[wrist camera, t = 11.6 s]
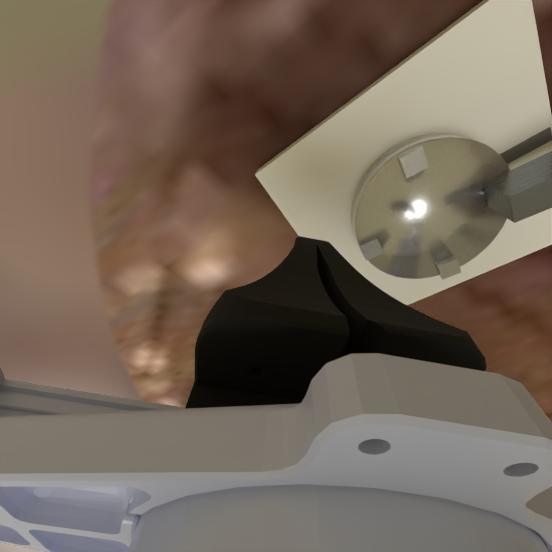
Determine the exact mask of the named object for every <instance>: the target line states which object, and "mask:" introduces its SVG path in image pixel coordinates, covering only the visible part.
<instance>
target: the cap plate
mask: <svg viewBox="0 0 552 552" xmlns="http://www.w3.org/2000/svg"><path fill="white" fill-rule="evenodd" d="M437 133H440V134H451V135H456V136H460V137H464V138H468V139H471V140H475V141H478V142H480V143H483V144H486V145H487V146H489V147H491V148H492V149H494V150H495V151H496V152H497V153H498V154H500V155H501V156H502V158H503V159H504V160H505V162H506V163H507V165H508V167H509V169H510V170H512V169H514V168H517V167H519V166H521V165H523V164H525V163H527V162H529V161H531V160H534V159H536V158H538V157H540V156H542V155H544V154H546V153H548V152H551V151H552V115H551V109H550V103H549V97H548V91H547V86H546V80H545V74H544V68H543V63H542V57H541V51H540V45H539V39H538V34H537V28H536V22H535V16H534V11H533V5H532V0H483V1H482V2H480V3H479V4H478V5H476V6H475V7H474V8H472V9H471V10H470V11H468V12H467V13H466V14H464V15H463V16H462V17H460V18H459V19H458V20H456V21H455V22H454V23H452V24H451V25H450V26H448V27H447V28H446V29H444V30H443V31H442V32H440V33H439V34H438V35H436V36H435V37H434V38H432V39H431V40H430V41H428V42H427V43H426V44H424V45H423V46H422V47H420V48H419V49H418V50H416V51H415V52H414V53H412V54H411V55H410V56H408V57H407V58H406V59H404V60H403V61H402V62H400V63H399V64H398V65H396V66H395V67H394V68H392V69H391V70H390V71H388V72H387V73H386V74H384V75H383V76H382V77H380V78H379V79H378V80H376V81H375V82H374V83H372V84H371V85H370V86H368V87H367V88H366V89H364V90H363V91H362V92H360V93H359V94H358V95H356V96H355V97H354V98H352V99H351V100H350V101H348V102H347V103H346V104H344V105H343V106H342V107H340V108H339V109H338V110H336V111H335V112H334V113H332V114H331V115H330V116H328V117H327V118H326V119H324V120H323V121H322V122H320V123H319V124H318V125H316V126H315V127H314V128H312V129H311V130H310V131H308V132H307V133H306V134H304V135H303V136H302V137H300V138H299V139H298V140H296V141H295V142H294V143H292V144H291V145H290V146H288V147H287V148H286V149H284V150H283V151H282V152H280V153H279V154H278V155H276V156H275V157H274V158H272V159H271V160H270V161H268V162H267V163H266V164H264V165H263V166H262V167H260V168H259V169H258V170H257V172H256V174H255V176H256V177H257V178H258V180H259V181H260V183H261V184H262V185H263V187H264V188H265V190H266V191H267V192H268V194H269V195H270V197H271V198H272V199H273V201H274V202H275V204H276V205H277V206H278V208H279V209H280V211H281V212H282V213H283V215H284V216H285V218H286V219H287V220H288V222H289V223H290V225H291V226H292V227H293V229H294V230H295V232H296V233H297V234H298V236H301V237H306V238H312V239H317V240H323V241H328V242H329V243H330V244H332V245H333V247H334V248H335V249H336V250H337V251H338V252H339V253H340V254H341V255H342V256H343V257H344V258H345V259H346V260H347V261H348V262H349V263H350V264H351V265H352V266H353V267H354V268H355V269H356V270H357V271H358V272H359V273H360V274H362V275H363V276H364V277H365V278H366V279H367V280H369V281H370V282H371V283H373V284H374V285H375V286H377V287H378V288H379V289H381V290H382V291H384V292H385V293H387V294H388V295H390V296H392V297H393V298H395V299H397V300H398V301H400V302H402V303H403V304H405V305H409V304H411V303H414V302H416V301H418V300H421V299H423V298H426V297H428V296H430V295H433V294H435V293H437V292H440V291H442V290H445V289H447V288H449V287H452V286H454V285H456V284H459V283H461V282H464V281H466V280H468V279H471V278H473V277H475V276H478V275H480V274H483V273H485V272H487V271H490V270H492V269H494V268H497V267H499V266H502V265H504V264H506V263H509V262H511V261H513V260H516V259H518V258H521V257H523V256H525V255H528V254H530V253H532V252H535V251H537V250H540V249H542V248H544V247H547V246H549V245H552V208H550V209H547V210H545V211H543V212H540V213H538V214H535V215H533V216H530V217H528V218H526V219H523V220H521V221H518V222H516V223H514V222H512V221H511V220H509V219H507V220H506V222H505V224H504V226H503V228H502V229H501V231H500V232H499V234H498V235H497V236H496V238H495V239H494V240H493V241H492V242H491V244H490V245H489V246H488V247H487V248H486V249H484V250H483V251H482V252H481V253H480V254H479V255H477V256H476V257H475V258H474V259H472V260H471V261H469V262H468V263H466V264H464V265H462V266H461V267H460V270H461V273H459V274H456V275H454V276H451V277H448V278H446V279H443V280H442V278H441V277H440V276H439V275H438V276H434V277H429V278H422V279H407V278H400V277H395V276H392V275H389V274H387V273H384V272H382V271H381V270H379V269H377V268H376V267H375V266H373V265H372V264H371V263H370V262H369V261H368V260H367V261H366V260H365V258H364V256H363V254H362V252H361V250H360V248H359V245H358V241H357V239H356V236H355V234H354V231H353V227H352V222H351V207H352V202H353V198H354V195H355V192H356V190H357V187H358V185H359V183H360V181H361V180H362V178H363V177H364V175H365V173H366V172H367V171H368V170H369V168H370V167H371V166H372V165H373V164H374V163H375V162H376V161H377V160H378V159H379V158H380V157H381V156H382V155H384V154H385V153H386V152H387V151H389V150H390V149H392V148H394V147H395V146H397V145H399V144H401V143H403V142H405V141H407V140H409V139H412V138H415V137H418V136H423V135H427V134H437Z"/></svg>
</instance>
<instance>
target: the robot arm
mask: <svg viewBox="0 0 552 552" xmlns="http://www.w3.org/2000/svg"><path fill="white" fill-rule="evenodd" d="M0 543H5V544H9V545H14V546H20V547H24V548H29V549H34V550H38V551H43V552H552V422H551V421H550V420H549V418H548V417H547V416H546V415H545V413H544V412H543V411H542V409H541V408H540V407H539V405H538V404H537V403H536V402H535V400H534V399H533V398H532V396H531V395H530V394H529V392H528V391H527V390H526V388H525V387H524V386H523V385H522V383H520V382H518V381H515V380H513V379H511V378H508V377H506V376H503V375H501V374H497V373H492V372H486V362H485V357H484V356H483V355H482V353H481V352H480V350H479V349H478V347H477V346H476V344H475V343H474V341H473V340H472V338H471V337H470V336H469V334H468V333H467V332H466V331H463V330H461V329H458V328H456V327H453V326H451V325H448V324H446V323H443V322H441V321H438V320H436V319H433V318H431V317H429V316H427V315H425V314H423V313H421V312H419V311H417V310H415V309H413V308H411V307H409V306H407V305H405V304H403V303H402V302H400V301H398V300H397V299H395V298H393V297H392V296H390V295H388V294H387V293H385V292H384V291H382V290H381V289H379V288H378V287H377V286H375V285H374V284H373V283H371V282H370V281H369V280H367V279H366V278H365V277H364V276H363V275H362V274H360V273H359V272H358V271H357V270H356V269H355V268H354V267H353V266H352V265H351V264H350V263H349V262H348V261H347V260H346V259H345V258H344V257H343V256H342V255H341V254H340V253H339V252H338V251H337V250H336V249H335V248H334V247H333V245H332V244H330V243H329V242H328V241H323V240H317V239H312V238H306V237H301V236H299V237H297V238H296V241H295V245H294V247H293V249H292V250H291V252H290V253H289V255H288V256H287V257H286V258H285V259H284V260H283V262H282V263H281V264H280V265H279V266H278V267H276V268H275V269H274V270H273V271H272V272H270V273H269V274H267V275H266V276H264V277H263V278H261V279H259V280H257V281H255V282H253V283H250V284H248V285H245V286H241V287H237V288H234V289H230V290H226V291H225V292H224V293H223V294H222V295H221V297H220V298H219V299H218V301H217V302H216V303H215V305H214V306H213V308H212V309H211V311H210V313H209V314H208V316H207V318H206V319H205V321H204V323H203V326H202V328H201V331H200V333H199V335H198V338H197V342H196V347H195V382H194V385H193V388H192V391H191V394H190V396H189V399H188V402H187V405H186V408H183V407H177V406H170V405H164V404H158V403H151V402H145V401H139V400H132V399H126V398H120V397H113V396H107V395H101V394H94V393H88V392H82V391H75V390H69V389H63V388H56V387H50V386H43V385H37V384H30V383H25V382H18V381H12V380H6V379H5V378H4V374H3V372H2V370H1V368H0Z"/></svg>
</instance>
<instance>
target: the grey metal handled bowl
mask: <svg viewBox="0 0 552 552" xmlns="http://www.w3.org/2000/svg"><path fill="white" fill-rule="evenodd" d="M550 208H552V151H551V152H548V153H546V154H544V155H542V156H540V157H538V158H536V159H534V160H531V161H529V162H527V163H525V164H523V165H521V166H519V167H517V168H514V169H512V170H510V169H509V167H508V165H507V163H506V162H505V160H504V159H503V158H502V156H501V155H500V154H498V153H497V152H496V151H495V150H494V149H492V148H491V147H489V146H487V145H486V144H483V143H480V142H478V141H475V140H471V139H468V138H464V137H460V136H456V135H451V134H440V133H437V134H427V135H423V136H418V137H415V138H412V139H409V140H407V141H405V142H403V143H401V144H399V145H397V146H395V147H394V148H392V149H390V150H389V151H387V152H386V153H385V154H384V155H382V156H381V157H380V158H379V159H378V160H377V161H376V162H375V163H374V164H373V165H372V166H371V167H370V168H369V170H368V171H367V172H366V173H365V175H364V177H363V178H362V180H361V181H360V183H359V185H358V187H357V190H356V192H355V195H354V198H353V202H352V207H351V222H352V227H353V231H354V234H355V236H356V239H357V241H358V245H359V248H360V250H361V252H362V254H363V256H364V258H365V260H366V261H367V260H368V261H369V262H370V263H371V264H372V265H373V266H375V267H376V268H377V269H379V270H381V271H382V272H384V273H387V274H389V275H392V276H395V277H400V278H407V279H422V278H429V277H434V276H438V275H439V276H440V277H441V278H442V280H443V279H446V278H448V277H451V276H454V275H456V274H459V273H461V270H460V267H461V266H462V265H464V264H466V263H468V262H469V261H471V260H472V259H474V258H475V257H476V256H477V255H479V254H480V253H481V252H482V251H483V250H484V249H486V248H487V247H488V246H489V245H490V244H491V242H492V241H493V240H494V239H495V238H496V236H497V235H498V234H499V232H500V231H501V229H502V228H503V226H504V224H505V222H506V220H507V219H509V220H511V221H512V222H514V223H516V222H518V221H521V220H523V219H526V218H528V217H530V216H533V215H535V214H538V213H540V212H543V211H545V210H547V209H550Z"/></svg>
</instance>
